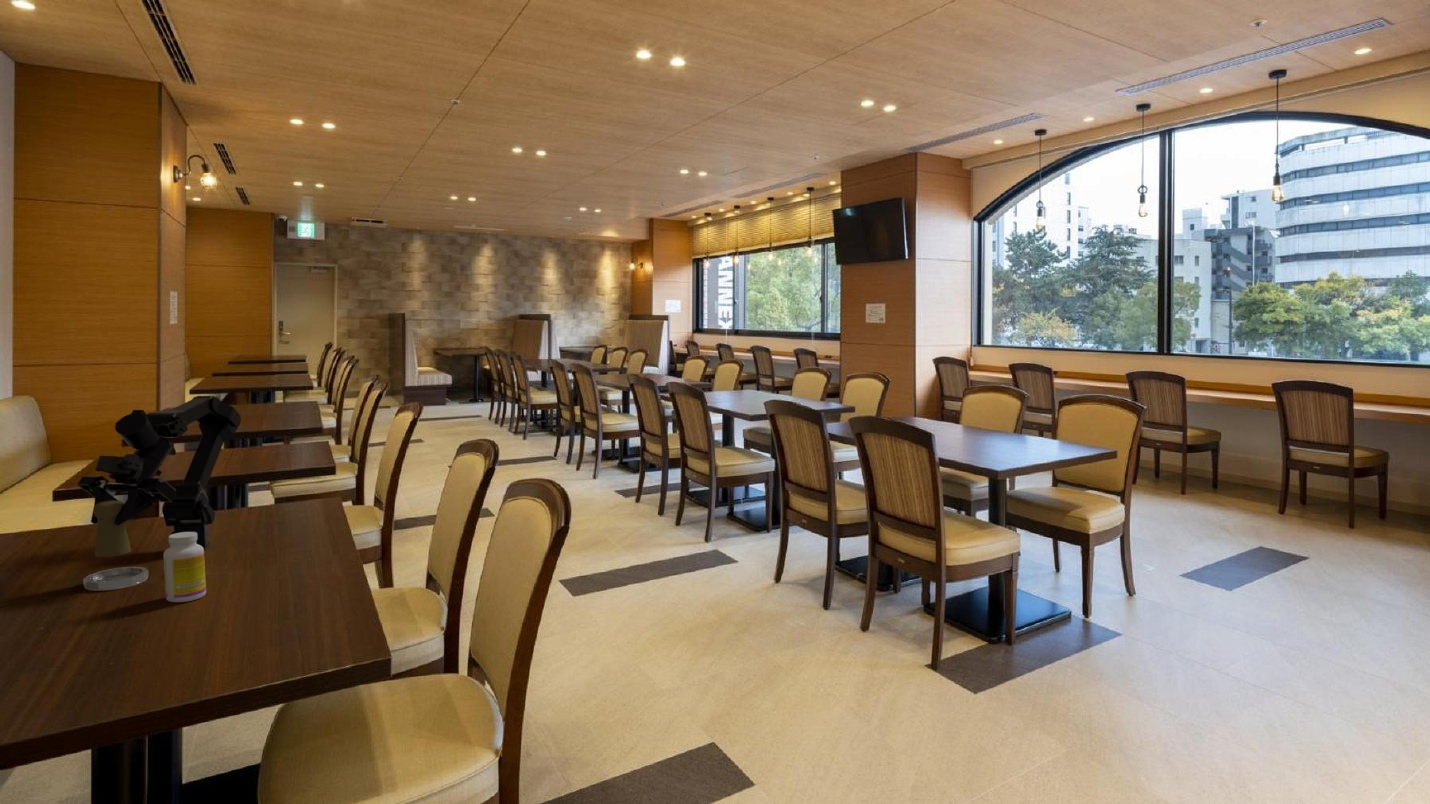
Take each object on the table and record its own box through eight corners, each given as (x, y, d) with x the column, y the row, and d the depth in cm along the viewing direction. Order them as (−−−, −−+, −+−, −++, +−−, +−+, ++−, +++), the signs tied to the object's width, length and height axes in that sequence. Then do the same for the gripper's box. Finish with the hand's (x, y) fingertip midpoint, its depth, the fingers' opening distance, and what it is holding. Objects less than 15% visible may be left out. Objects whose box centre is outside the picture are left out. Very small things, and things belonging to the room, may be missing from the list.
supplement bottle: (214, 594, 154) (211, 532, 153) (182, 605, 148) (178, 540, 147) (190, 590, 156) (187, 528, 155) (157, 600, 150) (154, 537, 149)
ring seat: (154, 572, 167) (154, 564, 167) (138, 587, 157) (137, 579, 157) (96, 577, 163) (95, 569, 163) (75, 593, 154) (75, 585, 153)
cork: (110, 558, 156) (106, 505, 155) (86, 555, 157) (82, 503, 156) (138, 549, 162) (134, 498, 161) (115, 547, 163) (111, 496, 162)
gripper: (81, 438, 162) (34, 501, 152) (161, 441, 160) (118, 506, 150) (117, 467, 171) (75, 528, 161) (193, 470, 168) (155, 533, 159)
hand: (104, 523), depth 158 cm, fingers closed on cork, 5 cm apart
